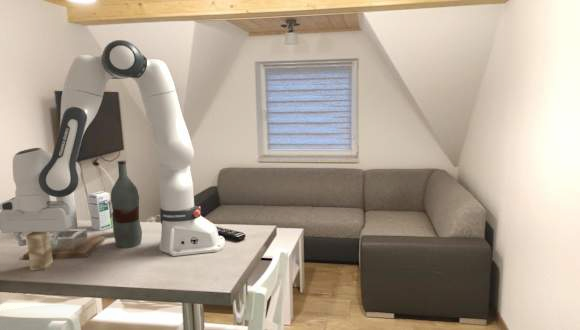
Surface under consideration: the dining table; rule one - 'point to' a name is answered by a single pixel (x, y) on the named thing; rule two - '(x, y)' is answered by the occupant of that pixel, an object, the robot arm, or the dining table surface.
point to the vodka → (125, 210)
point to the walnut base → (77, 249)
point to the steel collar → (69, 239)
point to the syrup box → (100, 210)
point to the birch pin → (39, 250)
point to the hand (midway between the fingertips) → (38, 245)
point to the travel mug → (70, 208)
